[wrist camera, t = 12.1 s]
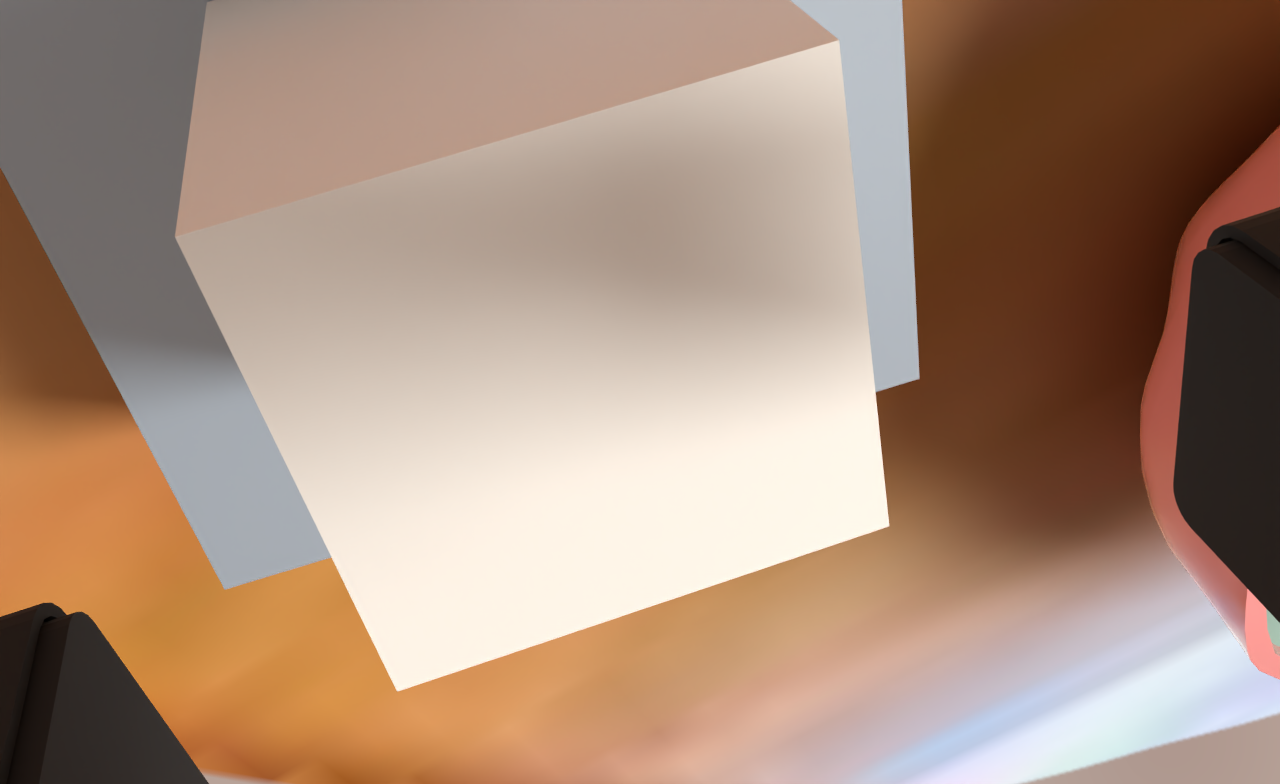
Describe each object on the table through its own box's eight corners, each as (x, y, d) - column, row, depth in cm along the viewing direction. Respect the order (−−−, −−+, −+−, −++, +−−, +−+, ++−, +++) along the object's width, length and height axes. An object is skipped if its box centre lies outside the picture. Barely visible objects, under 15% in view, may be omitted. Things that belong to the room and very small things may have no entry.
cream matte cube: (206, 1, 16) (174, 236, 10) (642, -120, 16) (839, 39, 11) (359, 368, 19) (396, 691, 14) (713, 257, 20) (890, 526, 14)
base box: (-85, -278, 18) (-210, -227, 14) (729, -458, 20) (879, -471, 15) (231, 401, 26) (224, 589, 21) (803, 237, 27) (919, 378, 22)
